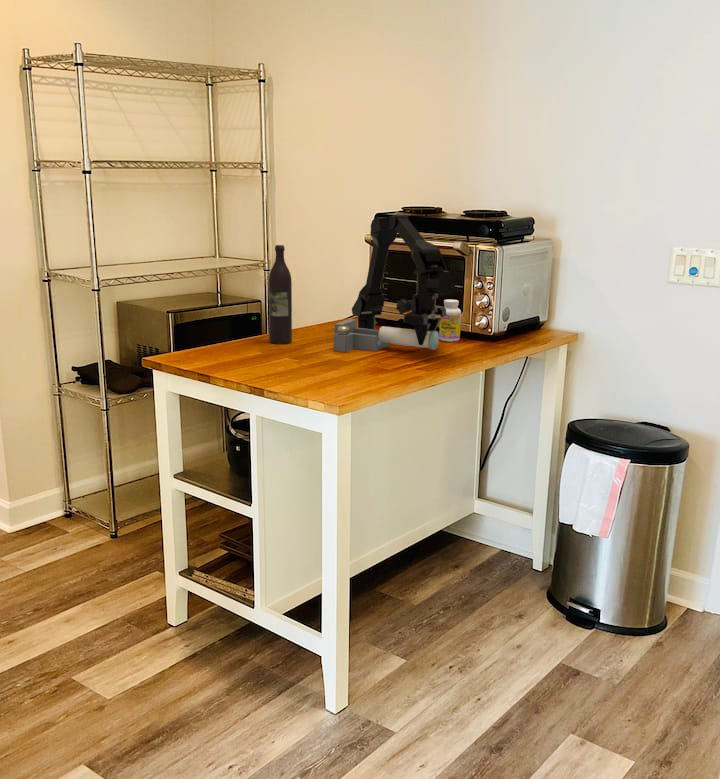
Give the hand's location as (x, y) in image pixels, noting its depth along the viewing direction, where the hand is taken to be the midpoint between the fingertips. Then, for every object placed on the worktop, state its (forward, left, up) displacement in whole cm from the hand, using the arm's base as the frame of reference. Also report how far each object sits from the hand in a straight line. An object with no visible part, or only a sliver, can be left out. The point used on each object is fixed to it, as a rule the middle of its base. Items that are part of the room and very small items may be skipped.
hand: (424, 343), depth 241 cm
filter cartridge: (0, -5, -1) cm, 5 cm away
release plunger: (+9, -23, -2) cm, 24 cm away
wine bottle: (+8, -45, -3) cm, 46 cm away
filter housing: (+3, -21, -3) cm, 21 cm away
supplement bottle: (-23, -1, -3) cm, 23 cm away
